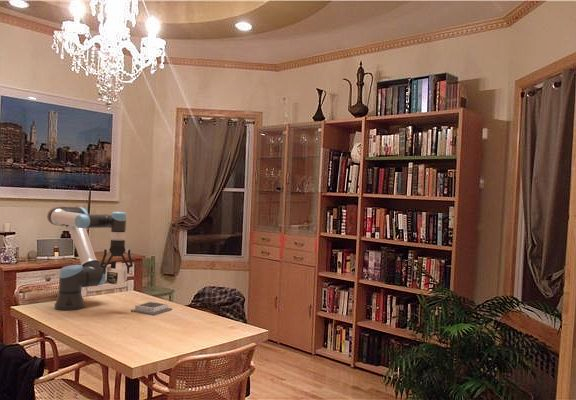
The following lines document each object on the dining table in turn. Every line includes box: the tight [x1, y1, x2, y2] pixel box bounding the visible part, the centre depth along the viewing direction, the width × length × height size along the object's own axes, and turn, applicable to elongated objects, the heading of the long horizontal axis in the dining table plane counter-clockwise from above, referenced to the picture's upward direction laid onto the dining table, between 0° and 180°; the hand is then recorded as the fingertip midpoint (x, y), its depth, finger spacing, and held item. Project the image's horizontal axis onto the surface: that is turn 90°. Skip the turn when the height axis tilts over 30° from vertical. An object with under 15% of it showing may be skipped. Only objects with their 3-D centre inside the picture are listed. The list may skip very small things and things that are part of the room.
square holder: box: [130, 301, 173, 316], centre depth 266 cm, size 16×16×3 cm
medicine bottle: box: [106, 261, 126, 286], centre depth 261 cm, size 7×7×12 cm
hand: (115, 279), depth 261 cm, fingers closed on medicine bottle, 10 cm apart
